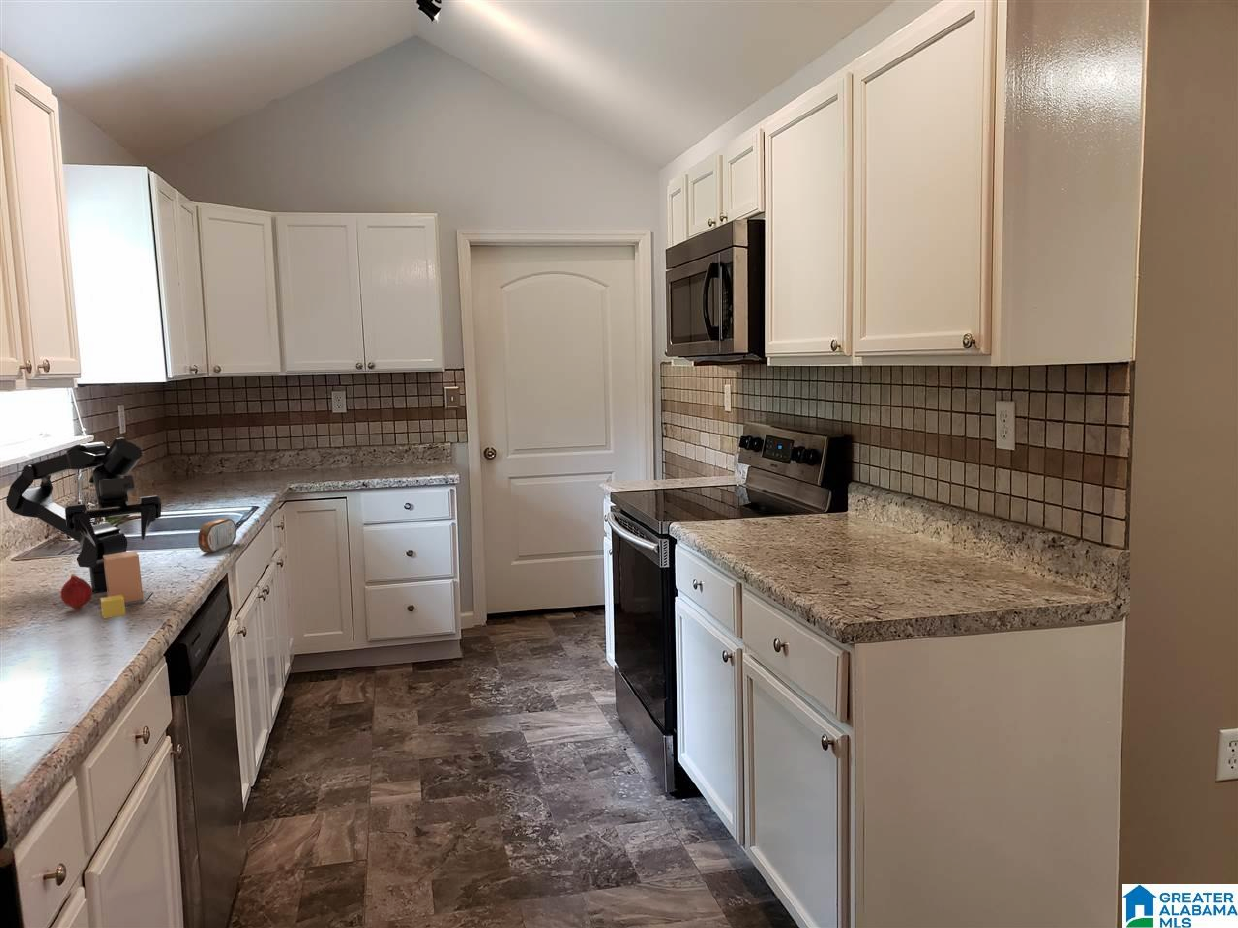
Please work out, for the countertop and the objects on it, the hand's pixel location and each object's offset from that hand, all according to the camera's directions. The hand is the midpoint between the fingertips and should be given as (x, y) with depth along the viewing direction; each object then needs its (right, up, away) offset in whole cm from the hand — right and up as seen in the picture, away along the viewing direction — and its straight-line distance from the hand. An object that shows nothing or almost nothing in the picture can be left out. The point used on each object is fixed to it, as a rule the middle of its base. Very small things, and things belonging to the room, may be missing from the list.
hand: (120, 542), depth 199 cm
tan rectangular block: (0, -13, +3) cm, 13 cm away
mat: (0, -13, +3) cm, 14 cm away
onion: (-7, -15, -3) cm, 17 cm away
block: (+3, -15, -8) cm, 17 cm away
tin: (-2, -7, +54) cm, 55 cm away
